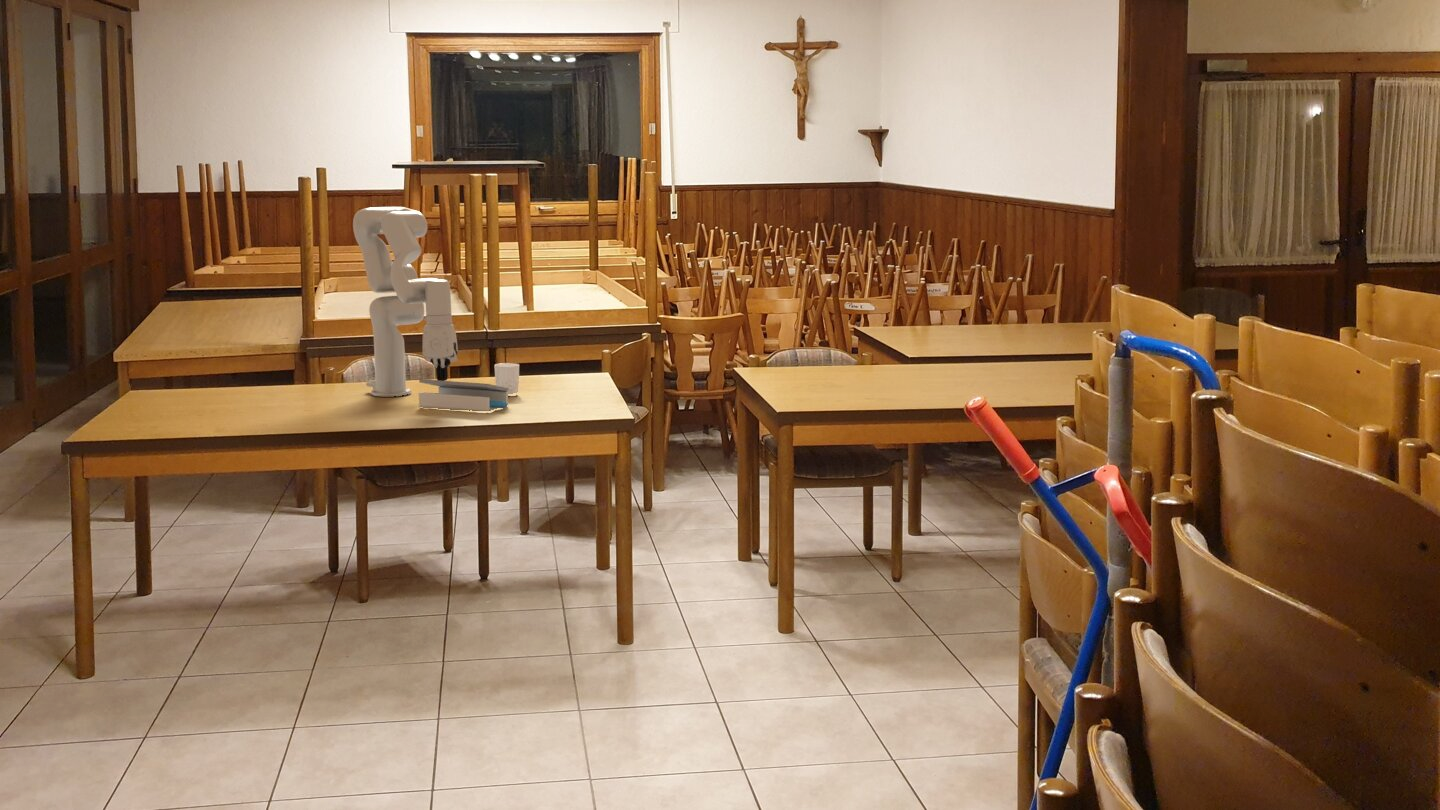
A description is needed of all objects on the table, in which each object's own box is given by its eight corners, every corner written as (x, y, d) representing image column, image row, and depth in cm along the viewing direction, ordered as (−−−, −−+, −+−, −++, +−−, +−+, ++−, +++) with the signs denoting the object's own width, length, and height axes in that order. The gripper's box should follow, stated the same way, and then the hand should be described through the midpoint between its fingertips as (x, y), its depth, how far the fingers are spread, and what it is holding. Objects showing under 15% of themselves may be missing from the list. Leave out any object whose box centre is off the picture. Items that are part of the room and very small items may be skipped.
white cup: (502, 392, 464) (501, 362, 462) (524, 394, 462) (523, 363, 460) (490, 396, 457) (489, 365, 455) (512, 398, 454) (512, 367, 452)
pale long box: (419, 408, 435) (418, 392, 434) (440, 402, 446) (440, 386, 445) (488, 414, 427) (487, 397, 426) (508, 407, 438) (507, 391, 437)
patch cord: (422, 402, 440) (422, 396, 440) (426, 401, 442) (426, 395, 442) (505, 408, 430) (504, 402, 430) (508, 407, 432) (508, 401, 432)
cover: (419, 382, 434) (419, 379, 434) (440, 386, 445) (440, 383, 446) (488, 387, 426) (488, 383, 426) (507, 391, 437) (508, 388, 437)
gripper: (411, 321, 432) (414, 381, 434) (453, 321, 426) (456, 382, 429) (425, 319, 439) (428, 378, 441) (467, 319, 433) (470, 379, 436)
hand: (442, 380), depth 435 cm, fingers closed
